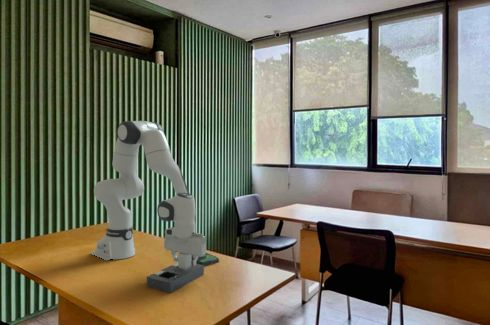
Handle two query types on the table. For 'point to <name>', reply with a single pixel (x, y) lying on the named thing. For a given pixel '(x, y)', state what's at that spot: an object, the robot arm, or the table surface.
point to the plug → (184, 261)
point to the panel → (174, 277)
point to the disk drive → (206, 259)
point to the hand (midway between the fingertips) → (184, 262)
